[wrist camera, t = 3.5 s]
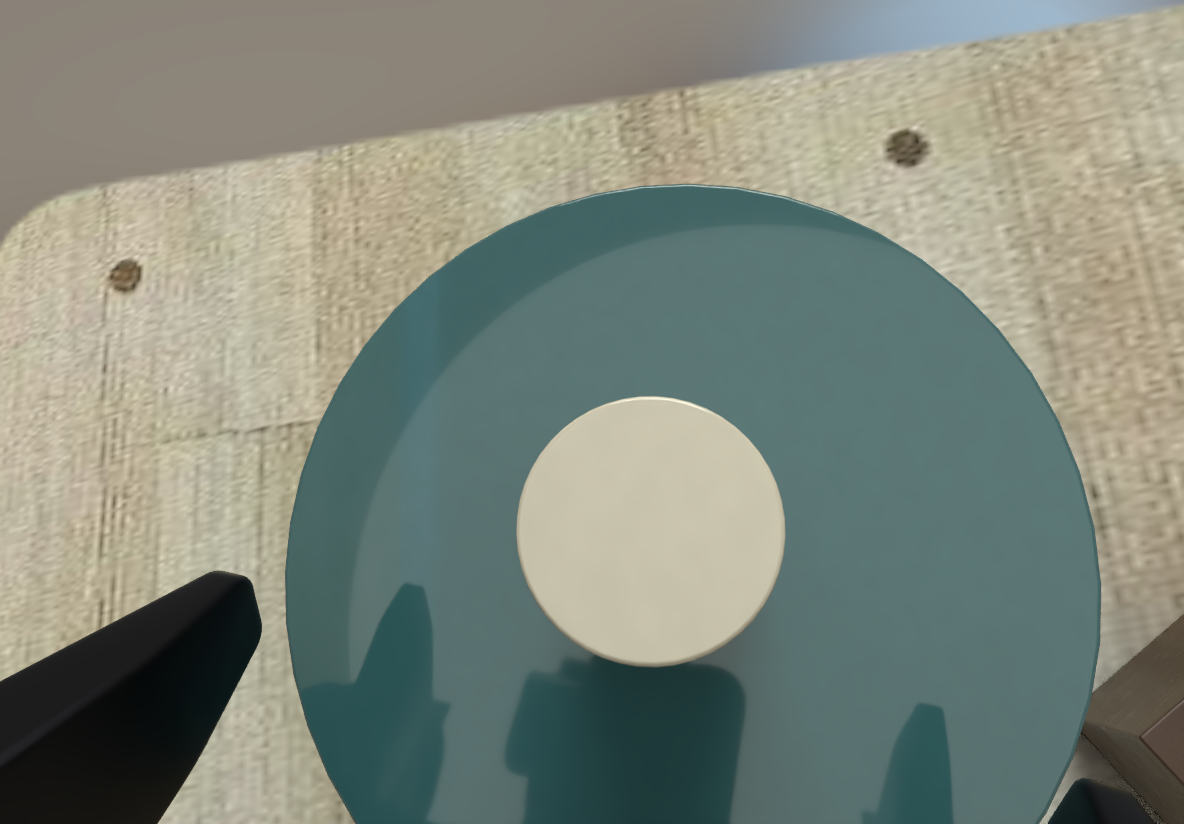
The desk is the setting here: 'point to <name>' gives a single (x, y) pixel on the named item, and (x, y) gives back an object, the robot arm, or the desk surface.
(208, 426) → the desk surface
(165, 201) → the desk surface
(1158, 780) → the board
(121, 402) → the desk surface
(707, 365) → the lid
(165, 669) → the robot arm
